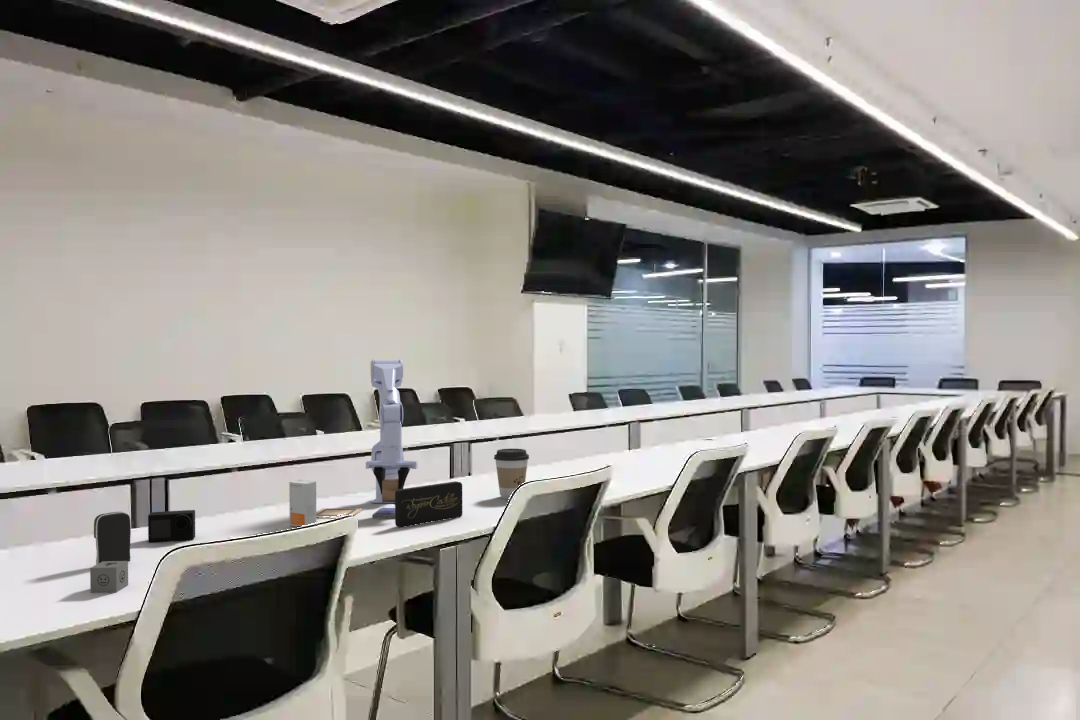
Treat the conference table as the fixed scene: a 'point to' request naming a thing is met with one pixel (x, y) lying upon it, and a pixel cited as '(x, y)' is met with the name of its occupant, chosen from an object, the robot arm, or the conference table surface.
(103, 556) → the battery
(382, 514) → the ink pad
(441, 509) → the nameplate
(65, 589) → the conference table surface
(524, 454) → the coffee cup
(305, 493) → the skincare box
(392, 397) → the robot arm
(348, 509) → the print card
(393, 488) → the block
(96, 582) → the dice cube
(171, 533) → the digital camera
